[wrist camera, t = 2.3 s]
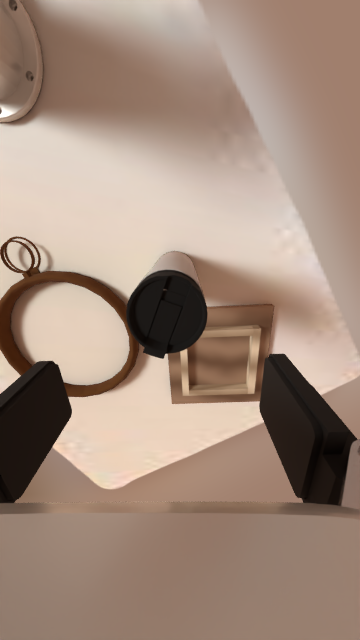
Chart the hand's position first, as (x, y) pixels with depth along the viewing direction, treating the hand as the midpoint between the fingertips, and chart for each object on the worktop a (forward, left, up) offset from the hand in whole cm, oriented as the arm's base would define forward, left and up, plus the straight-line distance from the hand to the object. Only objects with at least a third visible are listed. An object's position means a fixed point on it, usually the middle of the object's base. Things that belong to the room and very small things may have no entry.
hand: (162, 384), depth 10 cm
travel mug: (0, 0, -27) cm, 27 cm away
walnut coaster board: (+16, +7, -27) cm, 32 cm away
